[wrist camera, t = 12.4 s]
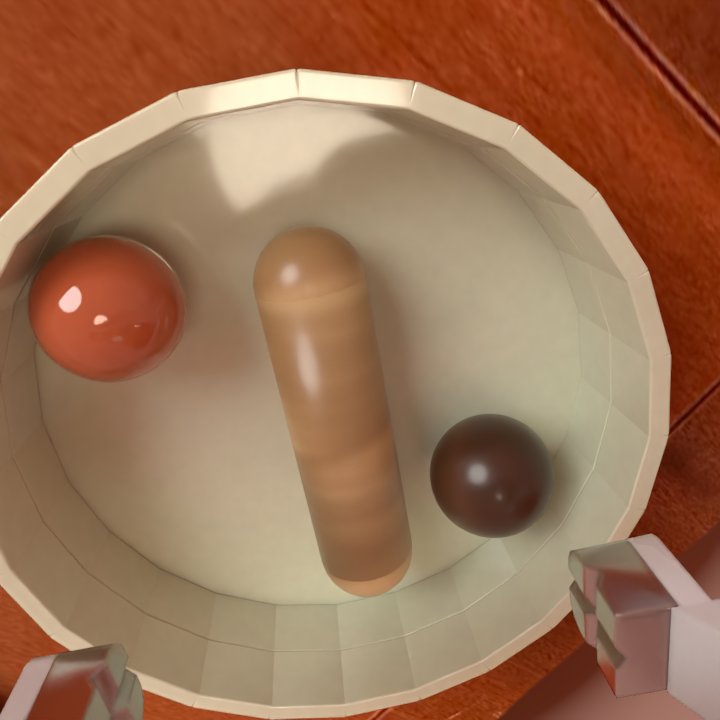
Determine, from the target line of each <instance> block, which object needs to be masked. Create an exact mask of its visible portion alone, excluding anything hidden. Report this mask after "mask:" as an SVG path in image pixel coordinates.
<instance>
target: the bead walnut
mask: <svg viewBox="0 0 720 720" xmlns="http://www.w3.org/2000/svg"><path fill="white" fill-rule="evenodd" d="M430 483H431V488H432V492H433V495H434V497H435V500H436V502H437V504H438V506H439V507H440V509H441V510H442V511H443V513H444V514H445V515H446V516H447V518H448V519H450V520H451V521H452V522H453V523H454V524H455V525H457V526H458V527H460V528H461V529H463V530H464V531H467V532H469V533H471V534H474V535H477V536H480V537H486V538H504V537H509V536H513V535H516V534H518V533H520V532H523V531H525V530H526V529H528V528H529V527H531V526H532V525H533V524H534V523H535V522H537V521H538V520H539V519H540V517H541V516H542V515H543V514H544V512H545V511H546V509H547V507H548V506H549V503H550V501H551V498H552V495H553V491H554V484H555V473H554V466H553V462H552V458H551V456H550V453H549V451H548V449H547V447H546V446H545V444H544V442H543V441H542V440H541V438H540V437H539V436H538V435H537V434H536V433H535V432H534V431H533V430H532V429H531V428H529V427H528V426H527V425H525V424H524V423H522V422H520V421H518V420H516V419H514V418H511V417H508V416H504V415H498V414H480V415H476V416H472V417H469V418H466V419H464V420H462V421H460V422H458V423H457V424H455V425H454V426H452V427H451V428H450V429H449V430H448V431H447V432H446V433H445V434H444V435H443V436H442V438H441V439H440V441H439V442H438V444H437V446H436V448H435V450H434V452H433V455H432V459H431V463H430Z"/></svg>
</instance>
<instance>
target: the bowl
mask: <svg viewBox="0 0 720 720" xmlns="http://www.w3.org/2000/svg"><path fill="white" fill-rule="evenodd" d="M298 226H320V227H323V228H327V229H330V230H332V231H334V232H336V233H338V234H339V235H341V236H342V237H344V238H345V239H346V240H347V241H348V242H350V244H351V245H352V246H353V247H354V249H355V250H356V251H357V253H358V255H359V257H360V259H361V261H362V263H363V266H364V270H365V273H366V279H367V285H368V291H369V297H370V302H371V308H372V314H373V320H374V325H375V331H376V337H377V343H378V349H379V354H380V360H381V366H382V372H383V377H384V383H385V389H386V395H387V400H388V406H389V412H390V418H391V424H392V429H393V435H394V441H395V447H396V452H397V458H398V464H399V470H400V476H401V481H402V487H403V493H404V499H405V504H406V510H407V516H408V522H409V527H410V533H411V539H412V557H411V561H410V566H409V568H408V570H407V572H406V574H405V575H404V577H403V579H402V580H401V581H400V582H399V583H398V584H397V585H396V586H395V587H394V588H392V589H391V590H389V591H388V592H386V593H384V594H381V595H378V596H374V597H360V596H356V595H352V594H349V593H347V592H345V591H343V590H342V589H341V588H339V587H338V586H337V585H335V584H334V582H333V581H332V580H331V579H330V577H329V576H328V575H327V573H326V571H325V568H324V566H323V564H322V560H321V556H320V552H319V548H318V544H317V540H316V536H315V532H314V528H313V524H312V520H311V516H310V513H309V509H308V505H307V501H306V497H305V493H304V489H303V485H302V481H301V477H300V473H299V469H298V465H297V461H296V457H295V453H294V449H293V445H292V441H291V437H290V433H289V429H288V425H287V421H286V417H285V413H284V409H283V405H282V401H281V397H280V393H279V390H278V386H277V382H276V378H275V374H274V370H273V366H272V362H271V358H270V354H269V350H268V346H267V342H266V338H265V334H264V330H263V326H262V322H261V318H260V314H259V310H258V306H257V302H256V298H255V294H254V287H253V279H254V270H255V266H256V263H257V260H258V258H259V256H260V254H261V252H262V251H263V249H264V248H265V247H266V246H267V244H268V243H269V242H270V241H271V240H272V239H274V238H275V237H276V236H277V235H279V234H280V233H282V232H284V231H286V230H288V229H291V228H294V227H298ZM96 235H115V236H120V237H125V238H129V239H132V240H135V241H138V242H140V243H142V244H144V245H146V246H148V247H149V248H151V249H153V250H154V251H156V252H157V253H158V254H159V255H160V256H162V257H163V258H164V259H165V260H166V261H167V262H168V263H169V265H170V266H171V267H172V268H173V270H174V271H175V273H176V274H177V276H178V278H179V280H180V281H181V284H182V286H183V289H184V292H185V296H186V301H187V321H186V326H185V330H184V333H183V336H182V338H181V341H180V342H179V344H178V346H177V348H176V349H175V351H174V352H173V353H172V355H171V356H170V357H169V358H168V359H167V360H166V361H165V362H164V363H163V364H162V365H161V366H159V367H158V368H156V369H155V370H154V371H152V372H150V373H148V374H146V375H144V376H141V377H139V378H136V379H133V380H129V381H125V382H116V383H103V382H96V381H90V380H86V379H83V378H80V377H78V376H75V375H73V374H71V373H69V372H67V371H65V370H64V369H62V368H60V367H59V366H58V365H57V364H55V363H54V362H53V361H52V360H51V359H50V358H49V357H48V356H47V355H46V354H45V353H44V352H43V350H42V349H41V348H40V346H39V345H38V343H37V342H36V340H35V337H34V335H33V333H32V331H31V328H30V325H29V320H28V314H27V298H28V293H29V288H30V285H31V283H32V280H33V278H34V276H35V274H36V272H37V270H38V269H39V267H40V266H41V265H42V263H43V262H44V261H45V260H46V259H47V258H48V257H49V256H50V255H51V254H52V253H53V252H55V251H56V250H58V249H59V248H60V247H62V246H64V245H66V244H68V243H69V242H72V241H74V240H77V239H80V238H84V237H89V236H96ZM670 353H671V351H670V347H669V344H668V340H667V336H666V332H665V329H664V325H663V321H662V318H661V314H660V310H659V306H658V303H657V299H656V295H655V291H654V288H653V284H652V280H651V276H650V273H649V271H648V268H647V266H646V265H645V263H644V261H643V260H642V258H641V257H640V255H639V254H638V252H637V250H636V249H635V247H634V246H633V244H632V243H631V241H630V239H629V238H628V236H627V235H626V233H625V232H624V230H623V228H622V227H621V225H620V224H619V222H618V221H617V219H616V217H615V216H614V214H613V213H612V211H611V210H610V208H609V207H608V205H607V203H606V202H605V200H604V199H603V197H602V196H601V194H600V192H598V191H597V189H596V188H595V187H594V186H593V185H591V184H590V183H589V182H588V181H587V180H585V179H584V178H583V177H582V176H581V175H579V174H578V173H577V172H576V171H575V170H573V169H572V168H571V167H570V166H569V165H567V164H566V163H565V162H564V161H563V160H562V159H560V158H559V157H558V156H557V155H556V154H554V153H553V152H552V151H551V150H550V149H548V148H547V147H546V146H545V145H544V144H542V143H541V142H540V141H539V140H538V139H536V138H535V137H534V136H533V135H532V134H530V133H529V132H528V131H527V130H526V129H524V128H523V127H522V126H520V125H518V124H517V123H516V122H513V121H511V120H508V119H506V118H504V117H501V116H499V115H496V114H494V113H492V112H489V111H487V110H484V109H482V108H480V107H477V106H475V105H473V104H470V103H468V102H465V101H463V100H461V99H458V98H456V97H453V96H451V95H449V94H446V93H444V92H441V91H439V90H437V89H434V88H432V87H430V86H427V85H425V84H422V83H420V82H414V81H412V80H405V79H396V78H386V77H377V76H367V75H357V74H348V73H338V72H328V71H319V70H309V69H297V71H296V69H289V70H284V71H279V72H273V73H268V74H263V75H258V76H252V77H247V78H242V79H236V80H231V81H226V82H221V83H215V84H210V85H205V86H199V87H194V88H189V89H184V90H180V91H178V93H177V92H173V93H172V94H170V95H168V96H166V97H164V98H162V99H160V100H158V101H156V102H154V103H152V104H151V105H149V106H147V107H145V108H143V109H141V110H139V111H137V112H135V113H133V114H132V115H130V116H128V117H126V118H124V119H122V120H120V121H118V122H116V123H114V124H112V125H111V126H109V127H107V128H105V129H103V130H101V131H99V132H97V133H95V134H93V135H91V136H90V137H88V138H86V139H84V140H82V141H80V142H78V143H76V144H74V146H73V148H69V149H68V150H67V151H66V152H65V153H64V154H63V155H62V156H61V157H60V158H59V159H58V160H57V161H56V162H55V163H54V164H53V165H52V166H51V167H50V168H49V169H48V170H47V171H46V172H45V173H44V174H43V175H42V176H41V177H40V178H39V179H38V180H37V181H36V182H35V183H34V184H33V185H32V186H31V187H30V188H29V189H28V190H27V191H26V192H25V193H24V194H23V195H22V196H21V197H20V198H19V199H18V200H17V202H16V203H15V204H14V205H13V206H12V207H11V208H10V209H9V210H8V211H7V212H6V213H5V214H4V215H3V216H2V217H1V218H0V585H1V587H2V588H3V589H4V590H5V591H6V592H7V593H8V594H9V595H10V596H11V597H12V598H13V599H14V600H15V601H16V602H17V603H18V604H19V605H20V606H21V607H22V608H23V609H24V611H25V612H26V613H27V614H28V615H29V616H30V617H31V618H32V619H33V620H34V621H35V622H36V623H37V624H38V625H39V626H40V627H41V628H42V629H43V630H44V631H45V632H46V633H47V635H49V636H50V638H52V639H53V640H55V641H56V642H58V643H60V644H61V645H63V646H64V647H66V648H67V649H69V650H71V651H73V650H79V649H84V648H90V647H96V646H101V645H107V644H113V643H119V644H122V645H123V647H124V649H125V651H126V653H127V654H128V656H129V658H128V661H127V665H126V669H128V670H129V671H131V672H133V673H135V674H136V675H137V676H138V678H139V681H140V683H141V686H142V689H143V690H146V691H149V692H151V693H154V694H157V695H160V696H162V697H165V698H168V699H171V700H173V701H176V702H179V703H181V704H184V705H187V706H190V707H192V706H193V707H194V708H199V709H206V710H212V711H218V712H225V713H231V714H238V715H244V716H251V717H257V718H264V719H269V718H270V719H271V720H272V719H302V718H332V717H345V716H352V715H357V714H361V713H366V712H370V711H375V710H379V709H384V708H389V707H393V706H398V705H402V704H407V703H411V702H416V701H419V700H420V699H421V700H423V699H425V698H428V697H430V696H432V695H435V694H437V693H439V692H442V691H444V690H446V689H449V688H451V687H454V686H456V685H458V684H461V683H463V682H465V681H468V680H470V679H472V678H475V677H477V676H480V675H482V674H484V673H487V672H488V671H489V670H492V669H494V668H495V667H497V666H498V665H500V664H501V663H503V662H504V661H506V660H507V659H509V658H510V657H512V656H513V655H515V654H516V653H518V652H519V651H521V650H522V649H524V648H525V647H527V646H528V645H530V644H531V643H533V642H534V641H536V640H537V639H539V638H540V637H542V636H543V635H544V634H546V633H547V632H549V631H550V630H551V628H552V629H553V628H554V627H555V626H556V625H557V624H558V623H559V622H560V621H561V620H562V619H563V618H564V617H565V616H566V615H567V614H568V613H569V612H570V611H571V610H572V606H571V602H570V591H569V587H570V585H571V584H572V583H573V581H574V580H575V579H574V577H573V575H572V574H571V572H570V570H569V568H568V556H569V553H570V551H572V550H577V549H582V548H587V547H591V546H596V545H601V544H606V543H610V542H615V541H620V540H624V539H628V537H629V536H630V534H631V533H632V531H633V529H634V528H635V526H636V524H637V523H638V521H639V520H640V518H641V516H642V515H643V513H644V510H645V509H646V507H647V504H648V501H649V497H650V494H651V491H652V488H653V485H654V482H655V478H656V475H657V472H658V469H659V466H660V462H661V459H662V456H663V453H664V450H665V447H666V443H667V440H668V435H669V416H670V385H671V354H670ZM480 414H498V415H504V416H508V417H511V418H514V419H516V420H518V421H520V422H522V423H524V424H525V425H527V426H528V427H529V428H531V429H532V430H533V431H534V432H535V433H536V434H537V435H538V436H539V437H540V438H541V440H542V441H543V442H544V444H545V446H546V447H547V449H548V451H549V453H550V456H551V458H552V462H553V466H554V473H555V484H554V491H553V495H552V498H551V501H550V503H549V506H548V507H547V509H546V511H545V512H544V514H543V515H542V516H541V517H540V519H539V520H538V521H537V522H535V523H534V524H533V525H532V526H531V527H529V528H528V529H526V530H525V531H523V532H520V533H518V534H516V535H513V536H509V537H504V538H486V537H480V536H477V535H474V534H471V533H469V532H467V531H464V530H463V529H461V528H460V527H458V526H457V525H455V524H454V523H453V522H452V521H451V520H450V519H448V518H447V516H446V515H445V514H444V513H443V511H442V510H441V509H440V507H439V506H438V504H437V502H436V500H435V497H434V495H433V492H432V488H431V483H430V463H431V459H432V455H433V452H434V450H435V448H436V446H437V444H438V442H439V441H440V439H441V438H442V436H443V435H444V434H445V433H446V432H447V431H448V430H449V429H450V428H451V427H452V426H454V425H455V424H457V423H458V422H460V421H462V420H464V419H466V418H469V417H472V416H476V415H480Z"/></svg>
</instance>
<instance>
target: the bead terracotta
mask: <svg viewBox="0 0 720 720" xmlns="http://www.w3.org/2000/svg"><path fill="white" fill-rule="evenodd" d="M27 314H28V320H29V325H30V328H31V331H32V333H33V335H34V337H35V340H36V342H37V343H38V345H39V346H40V348H41V349H42V350H43V352H44V353H45V354H46V355H47V356H48V357H49V358H50V359H51V360H52V361H53V362H54V363H55V364H57V365H58V366H59V367H60V368H62V369H64V370H65V371H67V372H69V373H71V374H73V375H75V376H78V377H80V378H83V379H86V380H90V381H96V382H103V383H116V382H125V381H129V380H133V379H136V378H139V377H141V376H144V375H146V374H148V373H150V372H152V371H154V370H155V369H156V368H158V367H159V366H161V365H162V364H163V363H164V362H165V361H166V360H167V359H168V358H169V357H170V356H171V355H172V353H173V352H174V351H175V349H176V348H177V346H178V344H179V342H180V341H181V338H182V336H183V333H184V330H185V326H186V321H187V301H186V296H185V292H184V289H183V286H182V284H181V281H180V280H179V278H178V276H177V274H176V273H175V271H174V270H173V268H172V267H171V266H170V265H169V263H168V262H167V261H166V260H165V259H164V258H163V257H162V256H160V255H159V254H158V253H157V252H156V251H154V250H153V249H151V248H149V247H148V246H146V245H144V244H142V243H140V242H138V241H135V240H132V239H129V238H125V237H120V236H115V235H96V236H89V237H84V238H80V239H77V240H74V241H72V242H69V243H68V244H66V245H64V246H62V247H60V248H59V249H58V250H56V251H55V252H53V253H52V254H51V255H50V256H49V257H48V258H47V259H46V260H45V261H44V262H43V263H42V265H41V266H40V267H39V269H38V270H37V272H36V274H35V276H34V278H33V280H32V283H31V285H30V288H29V293H28V298H27Z"/></svg>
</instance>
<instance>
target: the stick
mask: <svg viewBox="0 0 720 720" xmlns="http://www.w3.org/2000/svg"><path fill="white" fill-rule="evenodd" d="M253 287H254V294H255V298H256V302H257V306H258V310H259V314H260V318H261V322H262V326H263V330H264V334H265V338H266V342H267V346H268V350H269V354H270V358H271V362H272V366H273V370H274V374H275V378H276V382H277V386H278V390H279V393H280V397H281V401H282V405H283V409H284V413H285V417H286V421H287V425H288V429H289V433H290V437H291V441H292V445H293V449H294V453H295V457H296V461H297V465H298V469H299V473H300V477H301V481H302V485H303V489H304V493H305V497H306V501H307V505H308V509H309V513H310V516H311V520H312V524H313V528H314V532H315V536H316V540H317V544H318V548H319V552H320V556H321V560H322V564H323V566H324V568H325V571H326V573H327V575H328V576H329V577H330V579H331V580H332V581H333V582H334V584H335V585H337V586H338V587H339V588H341V589H342V590H343V591H345V592H347V593H349V594H352V595H356V596H360V597H374V596H378V595H381V594H384V593H386V592H388V591H389V590H391V589H392V588H394V587H395V586H396V585H397V584H398V583H399V582H400V581H401V580H402V579H403V577H404V575H405V574H406V572H407V570H408V568H409V566H410V561H411V557H412V539H411V533H410V527H409V522H408V516H407V510H406V504H405V499H404V493H403V487H402V481H401V476H400V470H399V464H398V458H397V452H396V447H395V441H394V435H393V429H392V424H391V418H390V412H389V406H388V400H387V395H386V389H385V383H384V377H383V372H382V366H381V360H380V354H379V349H378V343H377V337H376V331H375V325H374V320H373V314H372V308H371V302H370V297H369V291H368V285H367V279H366V273H365V270H364V266H363V263H362V261H361V259H360V257H359V255H358V253H357V251H356V250H355V249H354V247H353V246H352V245H351V244H350V242H348V241H347V240H346V239H345V238H344V237H342V236H341V235H339V234H338V233H336V232H334V231H332V230H330V229H327V228H323V227H320V226H298V227H294V228H291V229H288V230H286V231H284V232H282V233H280V234H279V235H277V236H276V237H275V238H274V239H272V240H271V241H270V242H269V243H268V244H267V246H266V247H265V248H264V249H263V251H262V252H261V254H260V256H259V258H258V260H257V263H256V266H255V270H254V279H253Z"/></svg>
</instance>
